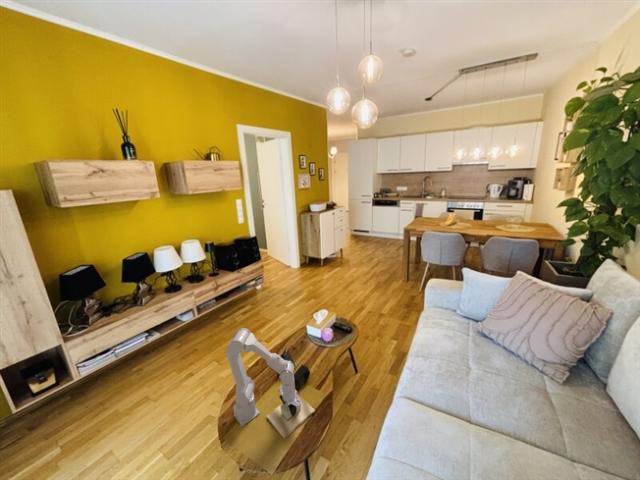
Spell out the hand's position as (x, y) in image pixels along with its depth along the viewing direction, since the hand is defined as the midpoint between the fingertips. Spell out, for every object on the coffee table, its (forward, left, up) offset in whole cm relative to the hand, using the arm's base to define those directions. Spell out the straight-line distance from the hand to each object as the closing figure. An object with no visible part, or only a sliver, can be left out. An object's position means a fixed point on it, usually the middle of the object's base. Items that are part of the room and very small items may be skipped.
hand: (290, 411), depth 122 cm
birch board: (0, 0, -2) cm, 2 cm away
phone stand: (+16, +25, -3) cm, 30 cm away
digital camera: (+16, +11, -3) cm, 19 cm away
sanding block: (0, 0, -1) cm, 1 cm away
